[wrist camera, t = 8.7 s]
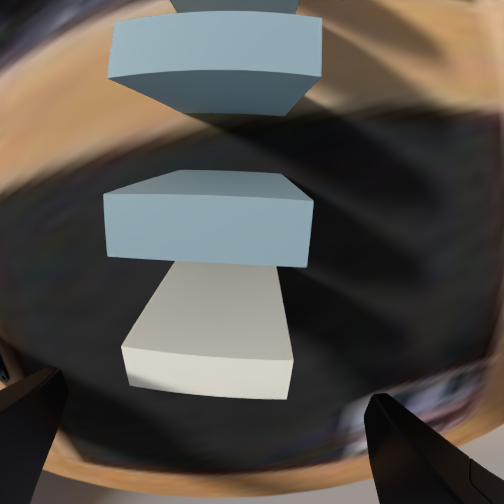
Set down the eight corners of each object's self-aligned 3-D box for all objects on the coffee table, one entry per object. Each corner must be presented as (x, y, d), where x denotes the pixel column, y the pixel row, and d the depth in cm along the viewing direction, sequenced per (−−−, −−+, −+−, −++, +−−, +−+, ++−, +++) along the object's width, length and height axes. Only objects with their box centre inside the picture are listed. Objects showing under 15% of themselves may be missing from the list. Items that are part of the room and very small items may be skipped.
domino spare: (272, 286, 17) (286, 399, 9) (181, 280, 17) (129, 384, 9) (274, 258, 16) (293, 360, 8) (180, 253, 16) (121, 346, 8)
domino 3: (284, 116, 14) (321, 76, 6) (183, 113, 14) (107, 78, 6) (286, 86, 13) (322, 18, 5) (184, 83, 13) (114, 22, 5)
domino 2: (278, 205, 15) (306, 267, 7) (180, 201, 15) (107, 256, 7) (281, 173, 15) (313, 200, 7) (180, 169, 15) (103, 194, 7)
